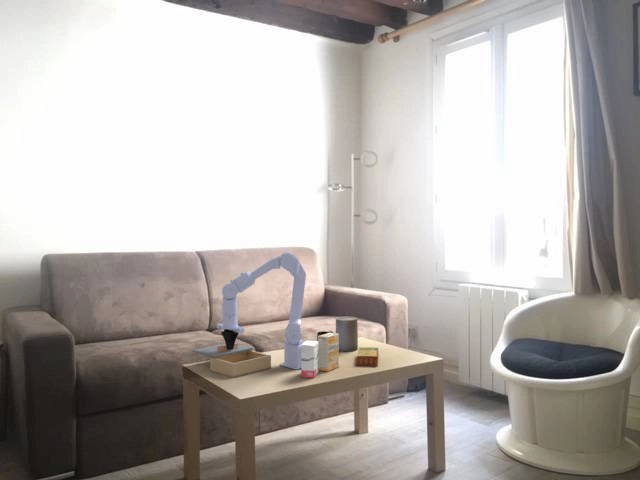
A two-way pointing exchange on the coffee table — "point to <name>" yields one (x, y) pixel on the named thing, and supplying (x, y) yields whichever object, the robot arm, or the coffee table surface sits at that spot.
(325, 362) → the supplement box
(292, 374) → the coffee table surface
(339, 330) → the pillar candle
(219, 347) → the lid
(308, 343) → the ink box
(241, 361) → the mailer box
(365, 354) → the carton
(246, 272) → the robot arm
